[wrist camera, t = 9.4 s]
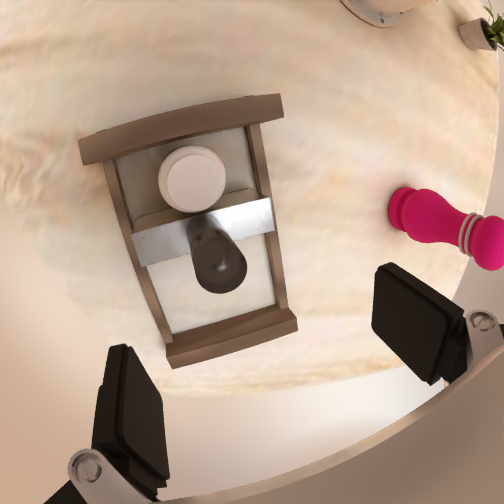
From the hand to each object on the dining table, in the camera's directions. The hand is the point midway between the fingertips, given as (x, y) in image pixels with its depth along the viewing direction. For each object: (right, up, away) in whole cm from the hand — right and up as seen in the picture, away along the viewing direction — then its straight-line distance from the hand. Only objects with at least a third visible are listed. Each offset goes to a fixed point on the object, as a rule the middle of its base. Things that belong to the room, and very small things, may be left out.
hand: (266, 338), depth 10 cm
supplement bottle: (-7, +11, +18) cm, 22 cm away
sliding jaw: (-6, +7, +19) cm, 21 cm away
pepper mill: (+21, +9, +27) cm, 36 cm away
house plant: (+41, +46, +19) cm, 65 cm away
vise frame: (-6, +5, +20) cm, 22 cm away
